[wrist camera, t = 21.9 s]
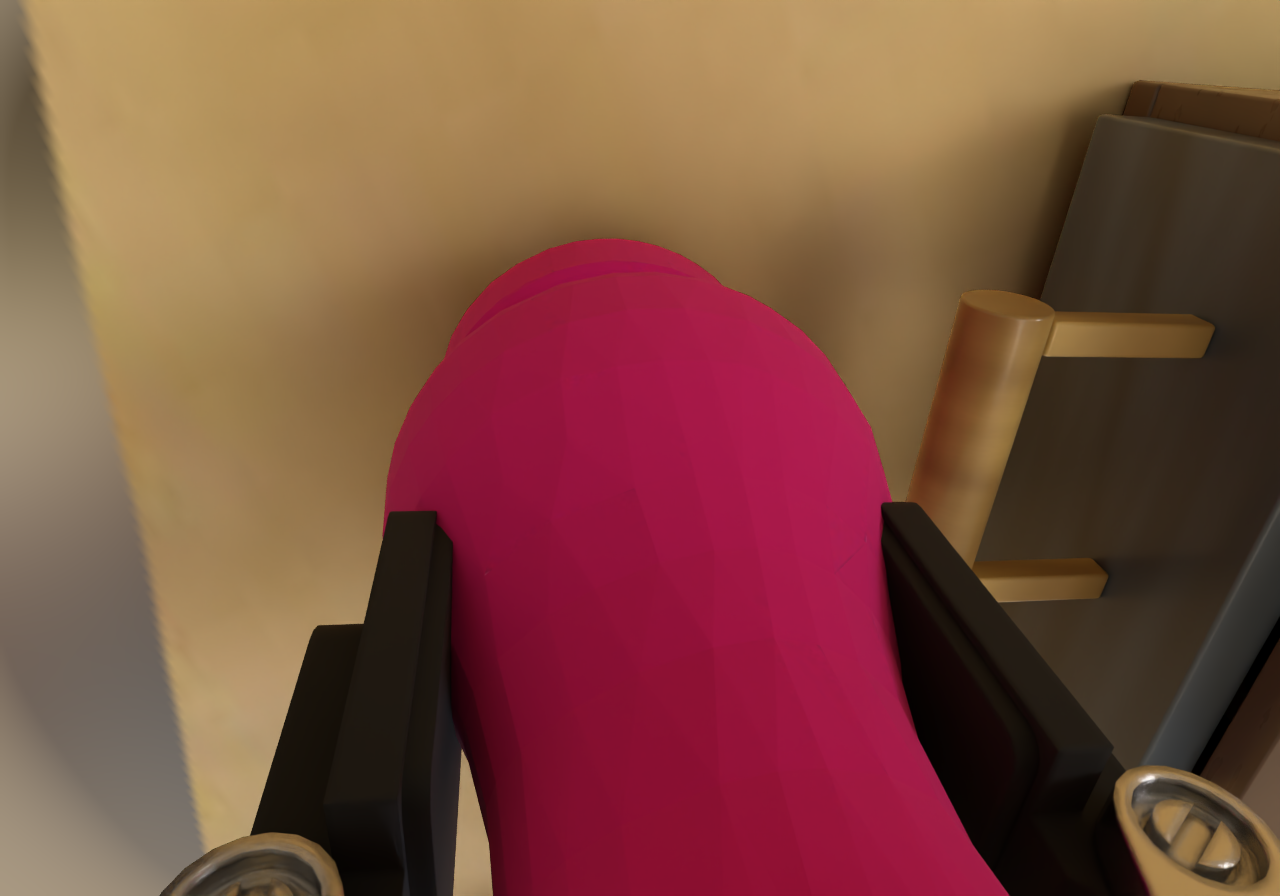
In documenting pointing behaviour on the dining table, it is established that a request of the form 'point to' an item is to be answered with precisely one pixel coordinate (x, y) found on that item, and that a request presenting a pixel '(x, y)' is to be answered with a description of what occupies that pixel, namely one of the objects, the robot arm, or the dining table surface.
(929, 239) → the dining table surface
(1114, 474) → the drawer
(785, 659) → the pepper mill
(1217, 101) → the cabinet
